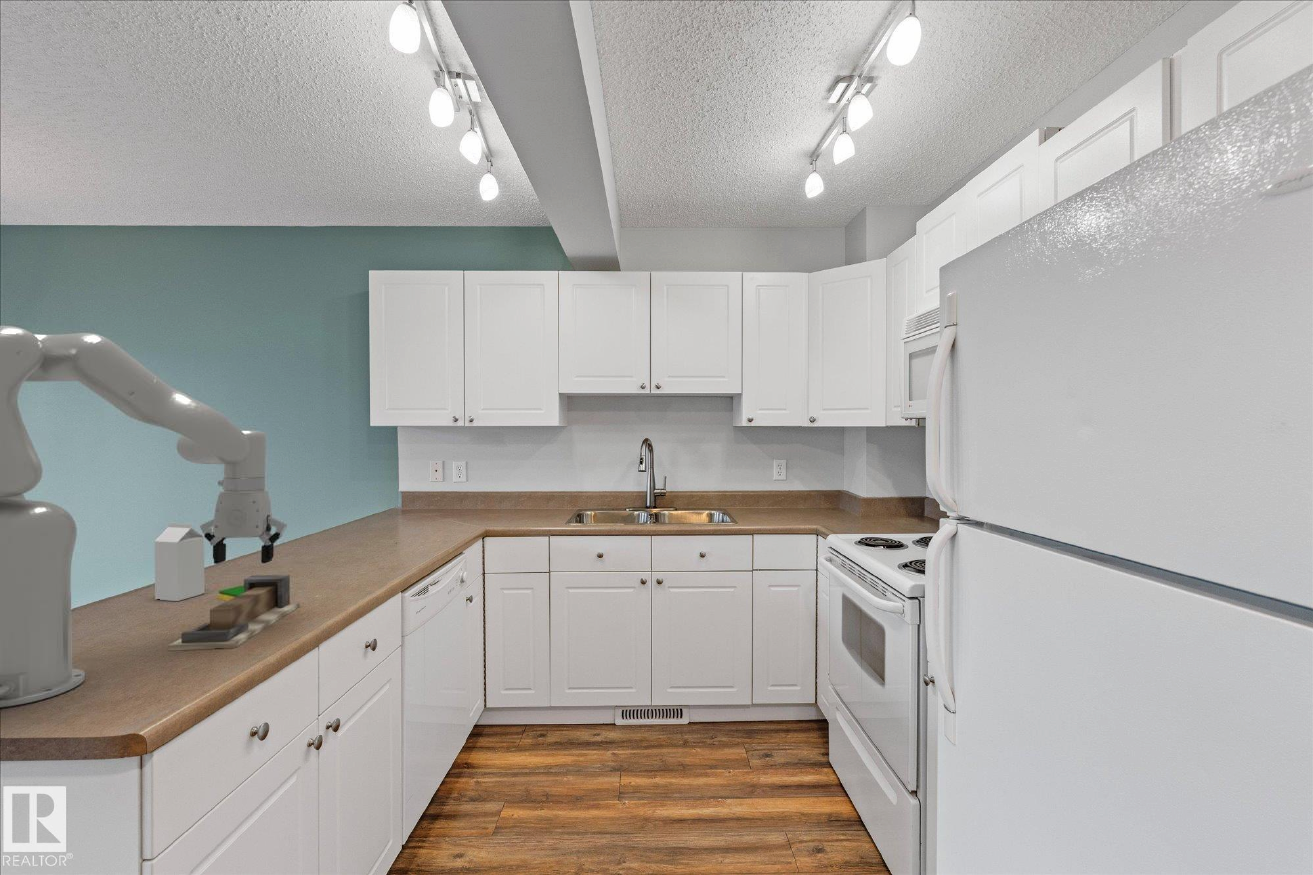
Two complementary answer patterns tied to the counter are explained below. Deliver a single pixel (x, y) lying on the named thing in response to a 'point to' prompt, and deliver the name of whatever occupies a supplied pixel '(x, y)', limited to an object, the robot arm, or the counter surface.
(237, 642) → the end cap board
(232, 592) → the dish sponge
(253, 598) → the walnut slat
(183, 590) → the milk carton
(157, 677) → the counter surface
